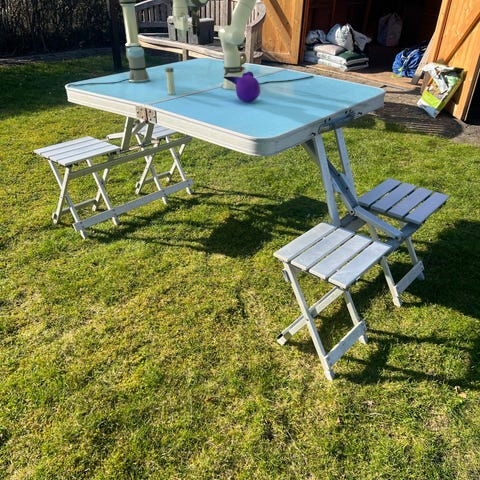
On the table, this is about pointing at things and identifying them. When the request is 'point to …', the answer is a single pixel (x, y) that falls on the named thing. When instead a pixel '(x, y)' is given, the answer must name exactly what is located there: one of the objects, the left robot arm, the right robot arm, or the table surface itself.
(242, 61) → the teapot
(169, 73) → the cream long cylinder
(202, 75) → the table surface
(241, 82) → the toy
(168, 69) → the lid
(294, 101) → the table surface
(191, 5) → the right robot arm
